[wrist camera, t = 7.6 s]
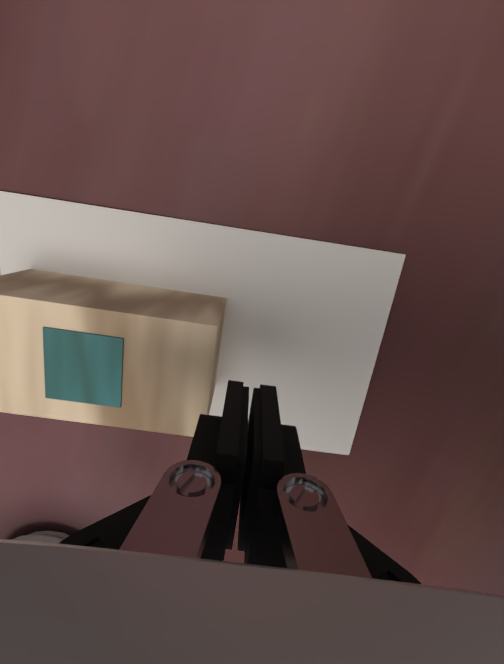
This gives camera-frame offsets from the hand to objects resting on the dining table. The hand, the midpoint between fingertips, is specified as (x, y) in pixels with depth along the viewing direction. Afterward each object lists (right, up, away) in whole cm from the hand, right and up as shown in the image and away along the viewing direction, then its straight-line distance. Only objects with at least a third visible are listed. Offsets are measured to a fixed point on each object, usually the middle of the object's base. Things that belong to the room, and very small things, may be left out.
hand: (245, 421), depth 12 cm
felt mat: (-3, +3, +7) cm, 8 cm away
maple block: (-1, +2, +4) cm, 5 cm away
